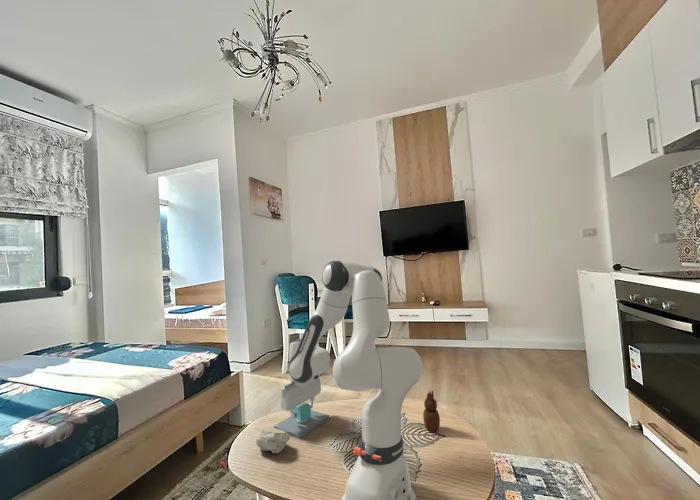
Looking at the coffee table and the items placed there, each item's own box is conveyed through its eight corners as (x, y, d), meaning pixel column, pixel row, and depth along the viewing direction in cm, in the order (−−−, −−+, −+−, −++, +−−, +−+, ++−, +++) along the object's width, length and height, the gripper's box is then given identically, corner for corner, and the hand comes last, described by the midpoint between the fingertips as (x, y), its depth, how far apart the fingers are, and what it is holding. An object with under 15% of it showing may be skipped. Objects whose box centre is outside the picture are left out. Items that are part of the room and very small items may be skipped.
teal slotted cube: (311, 417, 130) (310, 404, 130) (300, 421, 127) (300, 408, 127) (304, 413, 134) (304, 401, 134) (294, 417, 131) (294, 404, 131)
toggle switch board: (299, 438, 119) (298, 423, 119) (273, 429, 127) (273, 414, 127) (329, 418, 133) (328, 404, 134) (304, 411, 141) (304, 398, 142)
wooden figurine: (442, 434, 117) (439, 392, 118) (426, 434, 117) (423, 393, 118) (437, 424, 124) (435, 385, 124) (422, 425, 124) (420, 386, 124)
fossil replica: (261, 442, 118) (252, 462, 108) (258, 421, 117) (248, 438, 107) (293, 439, 117) (287, 457, 107) (290, 417, 117) (284, 433, 107)
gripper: (287, 388, 121) (289, 425, 120) (322, 372, 138) (324, 404, 137) (276, 385, 124) (277, 421, 124) (311, 369, 141) (313, 401, 141)
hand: (302, 412), depth 131 cm, fingers open, 8 cm apart
